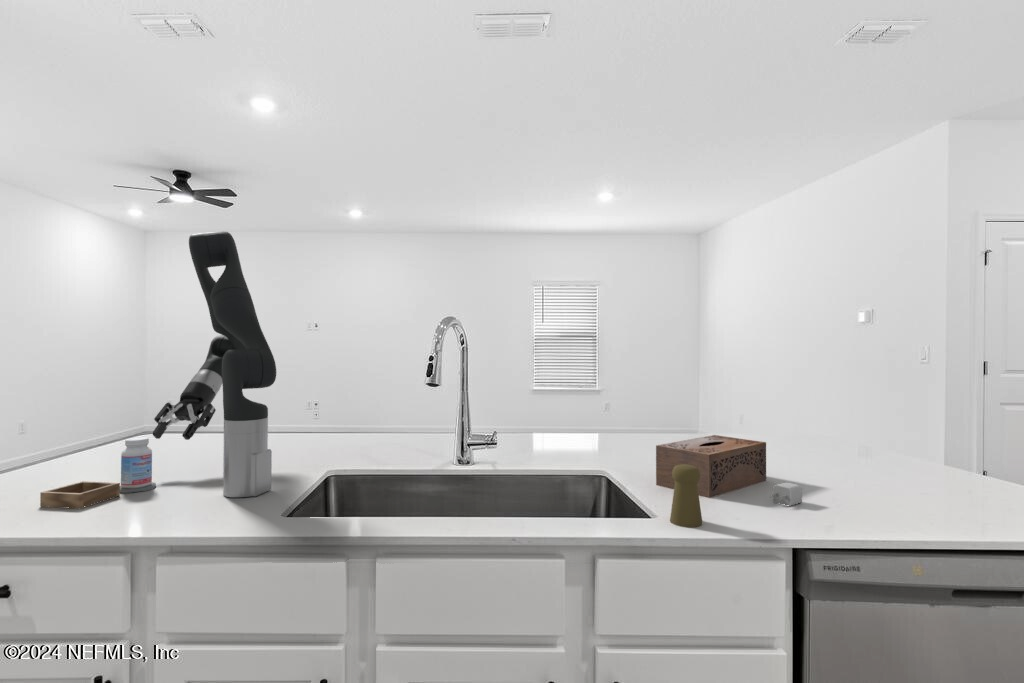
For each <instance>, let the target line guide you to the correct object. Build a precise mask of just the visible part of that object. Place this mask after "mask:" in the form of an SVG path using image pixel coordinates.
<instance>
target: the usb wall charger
mask: <svg viewBox="0 0 1024 683" xmlns="http://www.w3.org/2000/svg"><path fill="white" fill-rule="evenodd" d="M769 498H771V499H772V501H773V503H774V502H776V503H775V504H777V503H780V504H779V505H781V504H785V505H789V506H788V507H791V505H792V506H795V504H796V505H799V504H798V503H800V504H801V503H803V502H802V501H803V488H802V486H801V485H799V484H795V483H791V482H783V483H782V482H781V483H778V484H775V485H773V486H772V493H771V494H769ZM785 505H784V506H785Z"/></svg>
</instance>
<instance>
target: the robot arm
mask: <svg viewBox="0 0 1024 683" xmlns="http://www.w3.org/2000/svg"><path fill="white" fill-rule="evenodd" d="M188 247H189V252H190V256H191V260H192V263H193V267H194V270H195V273H196V275H197V278H198V282H199V285H200V287H201V290H202V293H203V294H204V298H205V301H206V303H207V308H208V312H209V316H210V320H211V326H212V328H213V330H214V332H215V333H216V334H219V335H216V336H215V337H214V338H212V340H211V341H210V345H209V348H208V353H207V356H206V358H205V361H204V363H203V364H202V366H200V368H199V369H198V371H197V373H195V374H194V375H193V376H192V378H191V380H190V381H189V382H188V384H187V385H186V387H185V388H184V390H183V391H182V393H181V394H180V397H179V400H178V402H177V403H176V404H171V403H170V402H166V403H165V404H164V405H163V407H162V408H161V409H160V411H159V412H158V413H157V414H156V416H155V417H154V418H153V420H154V421H155V422H156V423H157V426H156V427H155V428H154V430H152V437H154V438H155V440H156V439H158V440H159V439H161V438H162V436H163V435H164V433H165V432H166V430H167V429H168V427H170V426H171V425H172V424H177V423H179V422H181V421H186V422H190V423H188V425H187V426H186V428H185V430H184V431H183V433H182V435H181V436H182V437H183V439H184V440H187V441H188V440H190V439H191V438H193V437H194V435H195V433H196V431H197V430H198V429H200V428H201V427H204V428H206V427H207V426H209V423H210V422H211V419H213V416H214V415H215V413H216V411H217V410H216V408H215V407H214V406H213V404H212V402H213V401H214V399H215V398H216V396H217V394H218V393H219V392H220V390H221V388H222V406H223V464H222V466H223V467H222V468H223V472H222V474H223V475H222V477H223V481H222V483H223V488H222V490H223V491H222V492H223V493H222V494H223V496H224V497H227V498H246V497H257V496H259V495H262V494H264V493H266V492H268V491H271V490H272V467H273V466H272V465H273V464H272V462H273V461H272V452H273V451H272V449H270V448H269V445H268V442H269V438H268V437H269V434H268V433H269V430H268V429H269V408H268V406H267V405H266V404H263V403H261V402H257V401H252V400H250V399H248V398H247V397H246V396H245V395H244V393H243V390H247V389H248V390H249V389H264V388H268V387H271V386H273V385H274V383H275V382H276V379H277V366H276V365H277V364H276V360H275V358H274V357H275V356H274V354H273V353H272V350H271V347H270V346H269V344H268V342H267V341H268V340H267V338H266V337H265V335H264V332H263V330H262V327H261V325H260V322H259V318H258V315H257V312H256V309H255V305H254V302H253V299H252V295H251V292H250V290H249V288H248V285H247V282H246V279H245V276H244V273H243V268H242V265H241V261H240V257H239V253H238V249H237V243H236V242H235V240H234V237H233V236H232V234H231V233H230V232H228V231H223V230H222V231H220V230H219V231H210V232H199V233H192V234H191V235H190V236H189V237H188ZM223 266H225V268H224V270H223V272H222V274H221V275H220V277H219V278H218V279H217V281H216V280H215V279H214V278H213V277H212V275H211V273H210V271H209V268H215V267H223ZM173 415H174V416H175V417H174V416H173Z"/></svg>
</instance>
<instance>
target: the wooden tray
mask: <svg viewBox="0 0 1024 683" xmlns="http://www.w3.org/2000/svg"><path fill="white" fill-rule="evenodd" d="M120 486H121V482H108V481H107V482H106V481H104V482H103V481H86V480H85V481H84V480H83V481H79V482H75V483H71V484H67V485H64V486H60V487H57V488H53V489H48V490H45V491H41V492H40V493H39V494H40V497H39V498H40V504H39V506H47V507H46V508H55V507H69V508H68V509H73V508H81V509H83V508H82V507H84V506H87V507H89V506H88V505H90V506H92V505H91V504H93V505H95V504H94V503H97V502H100V501H103V500H106V501H108V500H107V499H109V500H111V499H110V498H113V497H116V498H118V497H117V496H119V497H120V494H121V493H120ZM113 499H114V498H113ZM103 502H104V501H103ZM100 503H101V502H100ZM97 504H98V503H97ZM48 506H49V507H48ZM84 508H85V507H84Z"/></svg>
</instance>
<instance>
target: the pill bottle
mask: <svg viewBox="0 0 1024 683" xmlns="http://www.w3.org/2000/svg"><path fill="white" fill-rule="evenodd" d="M149 440H150V438H149V437H145V436H143V437H142V436H141V437H140V436H139V437H131V438H126V439H125V441H124V445H125V447H126V448H125V449H123V450H122V452H121V454H120V455H121V456H120V486H121V487H122V488H129V489H134V488H141V487H145V486H148V485H150V484H151V483H152V482H153V481H152V480H153V477H152V476H153V451H152V448H150V447H149V446H148V445H149Z"/></svg>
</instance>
